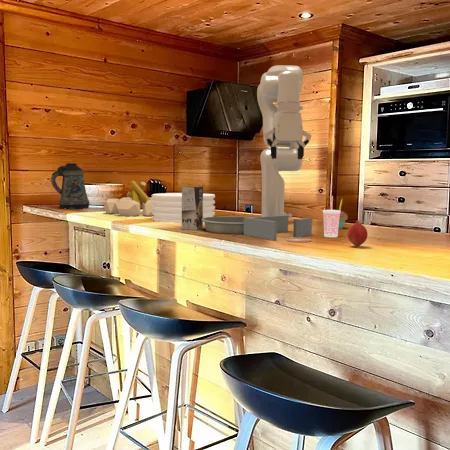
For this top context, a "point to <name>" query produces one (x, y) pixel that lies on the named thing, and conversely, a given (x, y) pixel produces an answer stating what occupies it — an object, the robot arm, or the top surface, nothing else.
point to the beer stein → (71, 187)
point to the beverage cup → (331, 221)
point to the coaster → (298, 239)
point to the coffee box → (192, 208)
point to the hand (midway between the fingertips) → (287, 158)
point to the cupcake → (342, 217)
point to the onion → (357, 234)
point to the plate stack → (177, 207)
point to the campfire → (131, 202)
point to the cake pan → (225, 224)
